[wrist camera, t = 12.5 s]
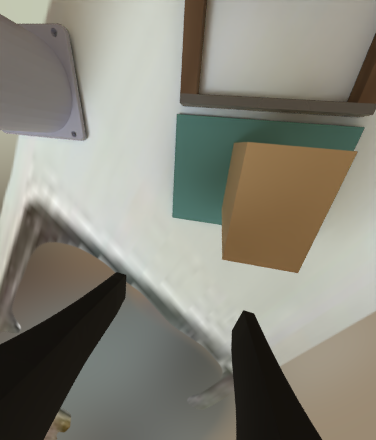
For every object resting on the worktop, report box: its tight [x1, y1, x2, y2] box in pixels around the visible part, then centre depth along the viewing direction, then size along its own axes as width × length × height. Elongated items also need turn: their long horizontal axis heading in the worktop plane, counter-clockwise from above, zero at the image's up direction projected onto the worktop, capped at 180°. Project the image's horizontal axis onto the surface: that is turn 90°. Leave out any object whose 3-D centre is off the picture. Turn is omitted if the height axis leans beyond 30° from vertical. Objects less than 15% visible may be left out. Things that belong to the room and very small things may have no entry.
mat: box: [172, 114, 365, 225], centre depth 15 cm, size 14×10×1 cm
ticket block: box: [222, 142, 357, 273], centre depth 11 cm, size 4×6×8 cm, turn 175°
